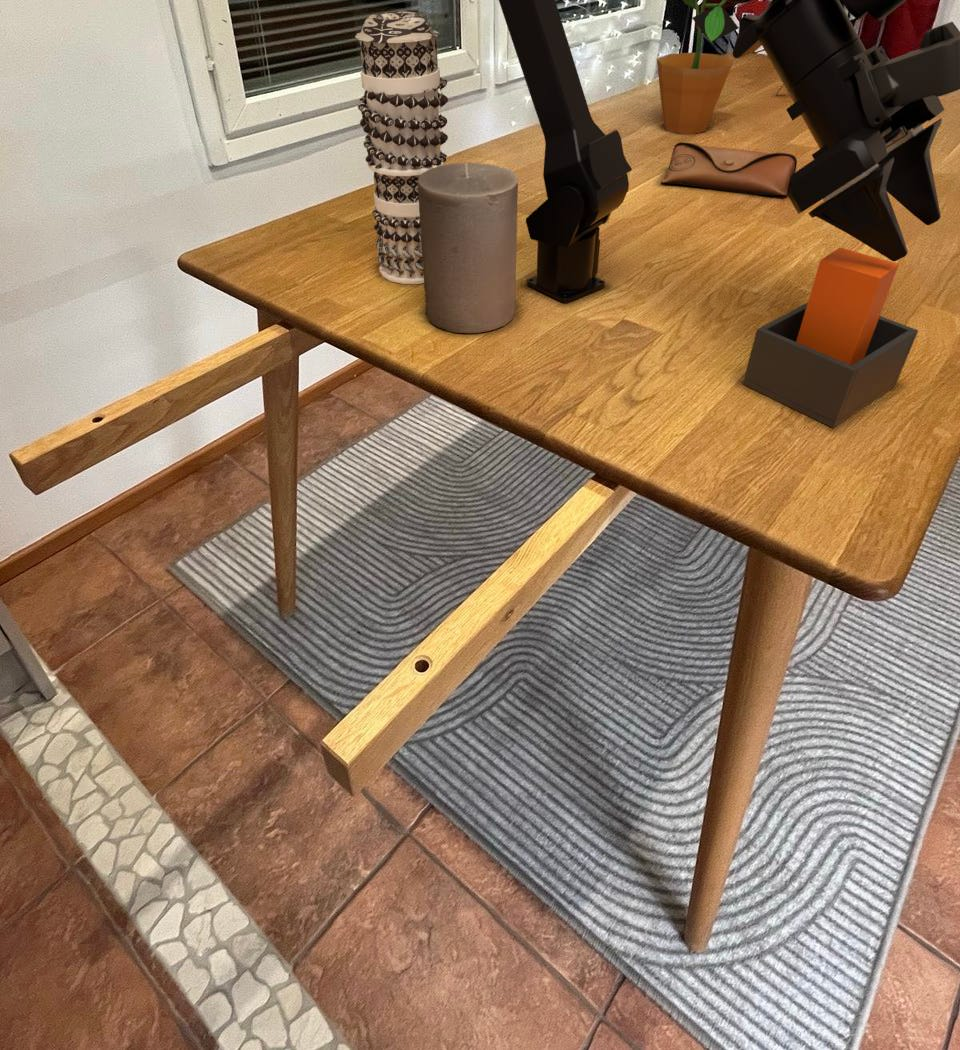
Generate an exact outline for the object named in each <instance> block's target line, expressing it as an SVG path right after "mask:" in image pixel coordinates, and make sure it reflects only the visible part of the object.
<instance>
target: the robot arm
mask: <svg viewBox="0 0 960 1050" xmlns="http://www.w3.org/2000/svg"><path fill="white" fill-rule="evenodd" d="M753 1H754V0H727V1H726V2H730V3H733V4H747V3H750V2H753ZM906 1H907V0H775V1H774V2H772V3H771V4H770V6H768V7H767V8H766V9H765V10H764V11H763V12H762V13H761V14H759V15H755V14H749V15H745V16H742V17H740V19H739V20H738V24H739V25H738V27H739V28H738V33H737V36H736V39H735V42H734V45H733V49H732V57H733V58H734V59H740V58H742V57H745V56H747V55H751V54H752V53H755V52H756V51H758V50H759V48H761V47H762V48H763V50H764V52H765V54H766V55H767V57H768V59H769V61H770V62H771V64H772V66H773V68H774V69H775V71H776V73H777V75H778V76H779V79H781V82H782V84H783V85H784V87H785V89H786V92H788V93H789V94H788V95H789V96H790V98H791V101H792V102H793V103H792V104H791V105H790V106H789V107H787V108H786V109H785V110H786V112H787V113H788V115H789V117H790V119H791V121H794V120H796V119H798V118H800V117H801V118H802V120H803V121H804V123H805V126H807V129H808V130H809V133H811V136H812V137H813V139H814V141H815V143H816V145H817V146H818V148H819V149H818V150H816V151H815V152H814V153H812V154H811V156H812V158H813V160H811V161H810V162H808V163H806V164H805V165H804V166H802V167H801V168H799V169H798V170H796V171H795V173H794V174H792V175H791V177H790V181H789V185H788V189H787V195H786V196H787V197H788V199H789V200H790V203H791V204H792V206H793V207H794V209H795V211H796V212H797V214H798V215H800V214H801V213H803V212H805V211H806V210H808V209H810V207H812V206H814V205H816V204H818V202H820V201H821V200H822V202H821V203H819V204H818V205H817V206H815V207H814V208H813V209H812V210H810V211H809V212H808V215H809V217H811V218H813V219H814V218H815V217H816V218H817V219H820V220H821V221H823V222H826V223H827V224H829V225H831V226H833V227H835V228H836V229H838V230H840V231H842V232H844V233H845V234H848V235H849V236H851V237H852V238H854V239H856V240H858V241H859V242H861V243H862V244H863V245H866V246H867V247H869V248H870V249H872V250H874V251H875V252H876V253H879V254H880V255H882V256H883V257H885V258H887V259H888V260H890V262H897V261H899V260H902V259H903V258H905V257H906V256H907V255H908V253H909V251H908V248H907V245H906V242H905V237H904V235H903V233H902V229H901V226H900V224H899V221H898V219H897V216H896V213H895V210H894V208H893V205H892V202H891V199H890V196H891V197H893V199H895V200H896V202H898V203H899V204H900V205H901V206H903V207H904V208H905V209H906V210H907V211H908V212H909V213H911V214H912V215H913V216H914V217H915V218H916V219H918V220H919V221H920V222H922V223H923V224H924V225H926V226H931V225H933V224H935V223H937V222H938V221H939V220H940V219H941V218H942V217H941V216H942V214H941V210H940V209H941V208H940V205H939V204H940V203H939V200H938V193H937V187H936V183H935V178H934V172H933V166H932V160H931V147H932V145H933V142H934V140H935V137H936V136H937V133H938V130H939V129H940V127H941V125H942V121H943V118H942V117H941V118H939V119H937V120H936V121H934V122H933V123H931V124H929V125H928V126H926V127H925V128H924V126H923V125H924V124H925V123H926V122H930V121H932V120H933V119H934V118H936V117H938V116H939V115H940V114H941V113H942V112H944V111H945V107H944V106H943V103H942V102H941V100H940V98H939V97H941V96H945V95H948V94H951V93H954V92H957V91H958V90H960V29H959V28H958V27H957V26H956V24H955V23H954V21H950V22H946V23H944V24H941V25H939V26H936V27H933V28H931V29H929V30H927V31H926V32H925V33H924V34H923V37H922V39H921V42H920V45H919V47H918V49H914V50H910V51H908V52H907V53H905V54H902V55H899V56H896V57H893V58H891V59H888V58H887V57H886V55H885V53H884V50H883V49H882V48H881V47H876V46H875V45H873V46H872V47H870V48H867V49H866V48H865V45H864V44H863V42H862V39H861V38H860V36H859V34H858V33H857V31H856V29H855V27H854V25H853V23H852V21H851V20H850V17H849V16H848V14H847V13H846V10H847V12H848V13H849V14H850V15H851V16H852V17H854V19H857V20H861V19H863V18H864V17H865V16H866V15H867V14H869V15H870V16H871V17H872V19H873V18H874V19H875V20H876V21H883V20H884V19H885V18H886V17H887V16H889V15H890V14H891V13H892V12H894V11H895V10H896V9H897V8H899V7H900V6H901V5H902V4H904V3H905V2H906ZM498 3H499V6H500V9H501V12H502V15H503V18H504V21H505V24H506V27H507V29H508V33H509V36H510V39H511V41H512V44H513V48H514V50H515V54H516V57H517V59H518V63H519V66H520V68H521V72H522V75H523V77H524V80H525V84H526V86H527V89H528V92H529V93H528V94H529V96H530V99H531V101H532V105H533V108H534V111H535V113H536V116H537V117H536V118H537V119H538V122H539V125H540V128H541V131H542V135H543V137H544V143H545V145H544V156H543V157H544V159H543V172H542V177H543V178H542V179H543V182H544V188H545V192H546V198H547V199H546V200H545V201H544V202H543V203H541V204H540V205H539V206H538V207H537V208H536V209H535V210H533V212H531V213H530V214H528V215H527V217H526V218H525V224H526V227H527V232H528V235H529V238H530V239H531V240H533V241H536V242H537V250H536V251H537V252H536V254H537V255H536V275H535V276H532V277H529V278H527V279H526V285H527V286H528V287H531V288H533V289H535V290H537V291H539V292H541V293H543V294H546V295H547V296H550V297H552V298H553V299H556V300H557V301H560V302H562V303H569V302H571V301H574V300H576V299H579V298H581V297H584V296H587V295H589V294H591V293H592V292H595V291H599V290H600V289H602V288H604V287H605V286H606V281H605V280H604V279H601V278H599V277H597V275H598V270H599V269H598V268H599V258H600V256H599V255H600V248H601V239H600V226H602V225H604V224H605V225H606V223H608V221H609V219H610V216H611V215H612V213H613V212H614V211H616V210H617V209H619V208H620V206H621V205H622V204H623V203H624V201H625V198H626V196H627V194H628V192H629V187H630V182H629V181H630V180H629V176H628V174H629V173H630V172H632V170H633V168H632V167H631V166H630V165H631V164H630V163H629V162H628V161H627V158H626V156H625V153H624V149H623V148H624V147H623V142H622V137H621V134H620V131H619V130H617V129H614V130H613V131H611V132H609V133H607V134H605V133H604V131H603V130H602V129H601V128H600V127H599V126H598V125H597V123H596V122H595V121H594V120H593V117H592V115H591V112H590V108H589V105H588V102H587V98H586V96H585V92H584V90H583V86H582V83H581V79H580V76H579V73H578V70H577V66H576V64H575V59H574V56H573V53H572V50H571V47H570V44H569V40H568V37H567V34H566V31H565V28H564V24H563V21H562V17H561V14H560V12H559V8H558V4H557V1H556V0H498ZM843 6H844V7H845V8H844V7H843ZM845 9H846V10H845Z"/></svg>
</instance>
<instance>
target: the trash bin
mask: <svg viewBox="0 0 960 1050" xmlns="http://www.w3.org/2000/svg"><path fill="white" fill-rule="evenodd" d="M807 304H808V301H807V302H806V303H804V304H802V305H800V306H798V307H796V308H794V309H792V310H790V311H788V312H786V313H784V314H782V315H781V316H779V317H777V318H774V319H773V320H771V321H769V322H767V323H766V324H764V325H762V326H760V327H758V328H757V329H756V331H755V335H754V339H753V343H752V347H751V350H750V355H749V358H748V362H747V365H746V370H745V374H744V379H743V381H742V385H744V386H745V387H747V388H749V389H751V390H753V391H755V392H758V393H760V394H762V395H763V396H766V397H768V398H769V399H772V400H773V401H776V402H777V403H780V404H783V405H784V406H785V407H786V406H787V407H788V408H790V409H792V410H795V411H797V412H798V413H800V414H803V415H805V416H807V417H809V418H811V419H813V420H815V421H817V422H819V423H821V424H823V425H825V426H828V427H829V428H832V429H835V428H836V427H837V426H839V425H840V424H841V423H843V422H844V421H846V420H847V419H849V418H850V417H852V416H853V415H855V414H857V413H858V412H859V411H861V410H862V409H864V408H865V407H867V406H868V405H869V404H871V403H873V402H874V401H875V400H877V399H878V398H880V397H881V396H883V395H884V394H886V393H887V392H889V391H890V390H892V389H893V388H895V387H896V385H897V384H898V381H899V379H900V376H901V374H902V371H903V369H904V366H905V364H906V361H907V359H908V356H909V354H910V352H911V350H912V347H913V345H914V342H915V340H916V337H917V335H918V332H919V330H918V329H916V328H913V327H910V326H909V325H905V324H903V323H900V322H898V321H895V320H892V319H890V318H886V317H884V316H881V315H880V317H879V319H878V322H877V325H876V327H875V330H874V333H873V335H872V338H871V341H870V344H869V346H868V349H867V352H866V354H865V357H864V358H863V359H861V360H860V361H858V362H856V363H855V364H853V365H852V366H851V365H849V364H846V363H844V362H842V361H839V360H837V359H835V358H832V357H830V356H828V355H825V354H823V353H821V352H818V351H816V350H814V349H811V348H809V347H806V346H804V345H802V344H799V343H797V342H796V341H797V337H798V334H799V330H800V327H801V324H802V320H803V317H804V314H805V310H806V307H807Z"/></svg>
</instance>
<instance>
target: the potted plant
mask: <svg viewBox="0 0 960 1050" xmlns="http://www.w3.org/2000/svg"><path fill="white" fill-rule="evenodd" d="M664 1H665V2H667V0H664ZM682 2H683V3H684V5H687V6H688V7H690V8H692V9H693V10H695V14H696V15H695V16H693V17H691V19H692V20H693V22H694V23H695V24H696V26H697V34H696V44H695V52H681V53H668V54H666V55H662V56H660V57H657V58H656V67H657V75H658V85H659V95H660V103H661V105H660V106H661V112H662V113H661V115H662V123H663V128H664V129H665V131H667V132H671V133H675V134H682V135H683V134H685V135H688V134H689V135H695V134H699V133H704V132H706V130H707V127H708V125H709V123H710V120H711V118H712V116H713V114H714V110H715V108H716V106H717V104H718V101H719V98H720V96H721V93H722V91H723V89H724V86H725V84H726V81H727V78H728V76H729V74H730V72H731V68H732V66H733V64H734V62H735V59H733V58H730V57H727V56H724V55H721V54H715V53H705V52H704V53H703V52H702V51H701V49H702V47H701V46H702V33H703V34H704V36H705V37H706V39H707V40H708V41H709V43H713V42H715V41H717V40H719V39H721V38H723V37H725V36H727V35H729V34H731V33H733V32H734V31H737V30H739V25H738V24H737V23H736V22H735V21H734V19H733V18H732V17H731V16H730V15H729V13H728V11H727V10H726V9H725V8H724V4H725V3H726V2H728V1H727V0H721V1H720V2H719V3H707V0H702V1H701V6H700V5H699V2H698V0H682ZM705 9H707V10H705Z"/></svg>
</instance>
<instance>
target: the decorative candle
mask: <svg viewBox="0 0 960 1050" xmlns="http://www.w3.org/2000/svg"><path fill="white" fill-rule="evenodd" d="M439 34H440V32H439V31H437V30H435V29H433V28H432V25H431V24H430V22H429V20H428V19H427V18H426V16H424V15H423V14H421V13H419V12H413V11H385V12H378V13H374V14H370V15H369V16H368V17H367V18H366V19H365V20H364V23H363V25H362V27H361V30H360V32H358V33H356V34H355V35H354V37H355V38H356V40H358V42H359V44H360V59H361V64H362V69H361V70H360V78H361V81H360V82H361V88H362V89H363V90H364V94H363V95H362V96H361V97H360V98H359V102H358V104H357V108H358V110H359V112H361V113H360V114H361V115H362V116H361V117H362V118H361V119H360V120H359V125H360V127H362V131H363V132H364V133H366V135H365V137H364V139H365V140H364V141H363V147H364V148H365V149H366V152H367V155H366V157H365V162H366V163H367V166H368V168H369V169H370V171H372V172H373V183H374V188H375V189H374V191H373V201H374V209H373V210H372V216H373V218H374V220H375V221H376V223H374V226H373V229H374V230H375V234H376V235H378V236H377V238H376V240H375V247H376V249H377V251H378V252H377V254H376V259H377V261H378V262H379V264H380V265H379V268H378V272H379V273H380V275H381V277H382V278H383V279H386V280H388V281H389V282H393V283H397V284H401V285H420V284H424V272H423V270H424V268H423V256H422V247H421V226H420V214H419V195H418V179H419V176H420V175H421V174H422V173H423V172H426V171H427V170H430V169H431V168H435V167H438V166H442V165H447V158H448V155H447V154H445V153H444V152H442V150H441V147H442V146H443V144H446V142H447V141H448V140H449V136H448V134H446V133H445V132H443V131H442V129H443V128H445V127H446V126H447V124H448V119H447V118H446V116H443V115H442V113H441V112H440V111H439V108H440V109H442V107H444V106H445V105H447V103H448V102H449V98H448V96H446V94H443V92H442V90H443V89H444V88H446V87H447V85H448V80H447V79H444V78H442V77H441V70H440V69H441V68H440V67H439V63H438V61H439V60H438V39H437V38H438V36H439ZM439 91H440V92H439ZM439 113H440V114H439Z"/></svg>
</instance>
